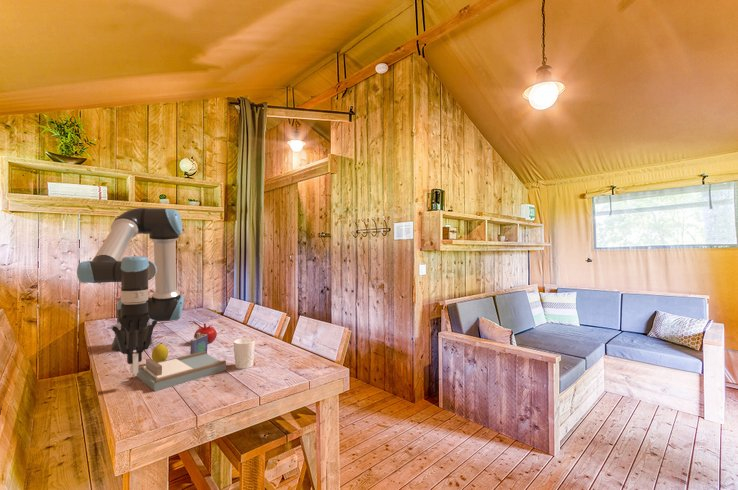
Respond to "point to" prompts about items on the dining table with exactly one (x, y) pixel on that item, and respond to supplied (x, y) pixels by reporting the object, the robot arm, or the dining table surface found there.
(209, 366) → the sliding lid box
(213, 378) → the dining table surface
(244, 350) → the white cup
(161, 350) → the lemon
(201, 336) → the blue-grey curved piece
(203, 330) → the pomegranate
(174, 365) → the slide cover
